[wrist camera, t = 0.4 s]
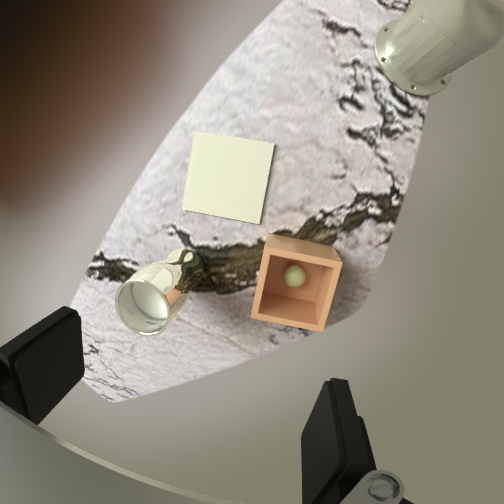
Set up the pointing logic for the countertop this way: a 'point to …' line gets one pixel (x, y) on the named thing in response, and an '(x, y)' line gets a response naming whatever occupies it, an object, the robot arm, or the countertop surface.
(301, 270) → the sage ball
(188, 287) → the beer glass
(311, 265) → the open box
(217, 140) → the plain cream tile
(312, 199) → the countertop surface
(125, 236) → the countertop surface
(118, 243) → the countertop surface
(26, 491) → the robot arm
